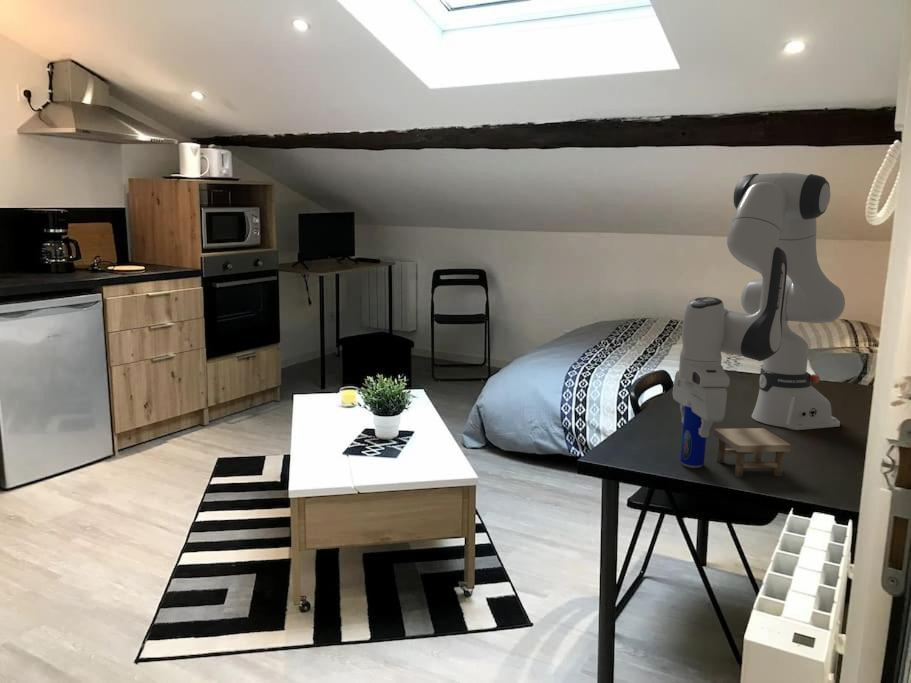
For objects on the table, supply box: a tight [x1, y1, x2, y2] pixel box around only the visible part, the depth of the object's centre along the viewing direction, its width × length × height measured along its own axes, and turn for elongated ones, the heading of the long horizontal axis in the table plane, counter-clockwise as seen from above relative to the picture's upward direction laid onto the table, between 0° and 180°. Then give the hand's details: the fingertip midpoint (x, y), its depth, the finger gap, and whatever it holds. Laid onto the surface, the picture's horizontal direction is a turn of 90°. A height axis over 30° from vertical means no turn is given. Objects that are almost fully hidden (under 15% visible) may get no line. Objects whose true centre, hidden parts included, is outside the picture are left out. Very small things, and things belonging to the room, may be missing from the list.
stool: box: [713, 427, 792, 478], centre depth 167 cm, size 12×12×8 cm
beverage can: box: [679, 400, 707, 469], centre depth 168 cm, size 5×5×15 cm
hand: (694, 430), depth 168 cm, fingers open, 8 cm apart
